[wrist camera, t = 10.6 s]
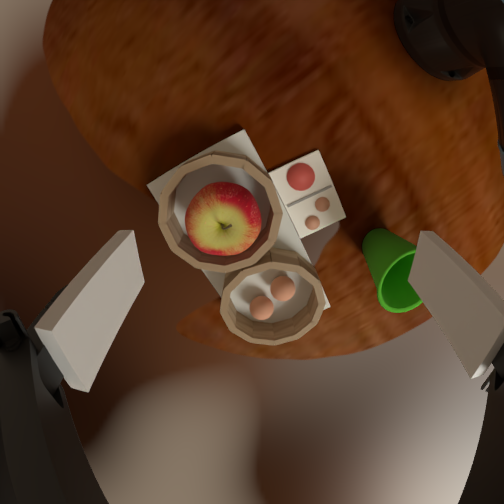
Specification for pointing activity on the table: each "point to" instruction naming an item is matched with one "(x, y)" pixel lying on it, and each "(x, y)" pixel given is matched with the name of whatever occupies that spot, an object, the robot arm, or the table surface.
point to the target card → (308, 193)
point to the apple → (223, 219)
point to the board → (286, 235)
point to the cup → (391, 269)
